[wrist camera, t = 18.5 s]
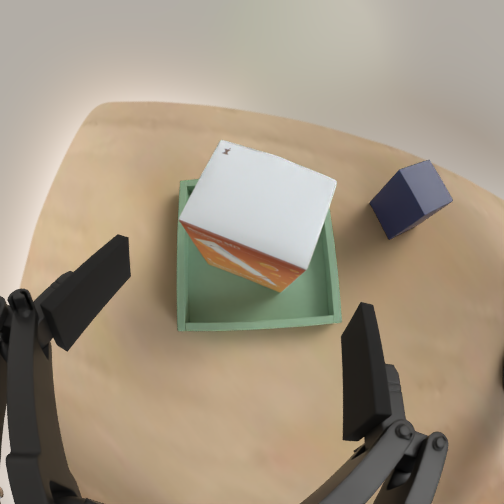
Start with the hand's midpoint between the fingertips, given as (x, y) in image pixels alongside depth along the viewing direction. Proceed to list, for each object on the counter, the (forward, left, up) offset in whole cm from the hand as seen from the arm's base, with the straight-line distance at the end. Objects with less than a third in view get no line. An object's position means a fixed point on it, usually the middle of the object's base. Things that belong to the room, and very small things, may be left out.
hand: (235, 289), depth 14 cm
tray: (-2, -5, -14) cm, 15 cm away
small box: (-2, -5, -13) cm, 14 cm away
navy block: (-19, -9, -13) cm, 25 cm away
